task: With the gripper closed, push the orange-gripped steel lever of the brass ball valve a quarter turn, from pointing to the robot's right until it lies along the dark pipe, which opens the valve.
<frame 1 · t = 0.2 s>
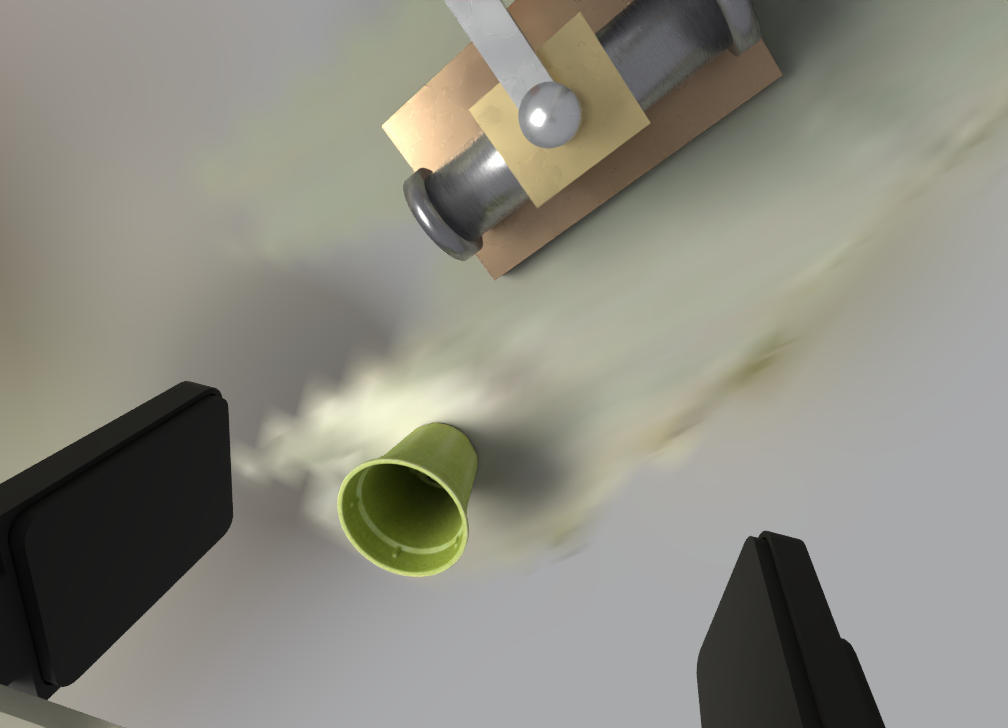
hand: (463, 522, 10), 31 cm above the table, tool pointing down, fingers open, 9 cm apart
plant pot: (441, 453, 47), on the table
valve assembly: (578, 117, 36), on the table
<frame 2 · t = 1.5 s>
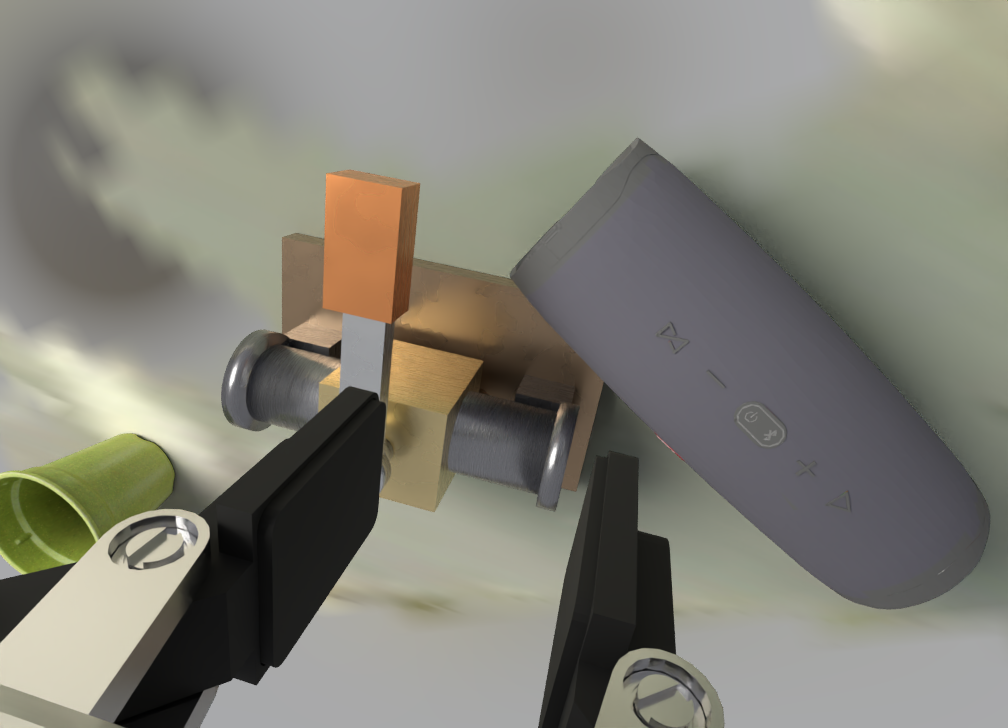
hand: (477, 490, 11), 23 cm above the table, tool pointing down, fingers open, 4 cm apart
plant pot: (144, 464, 46), on the table
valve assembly: (439, 373, 37), on the table
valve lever: (363, 358, 24), point 12 cm above the table, hinge at -90.0°
bluetooth speaker: (724, 342, 33), on the table, touching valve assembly
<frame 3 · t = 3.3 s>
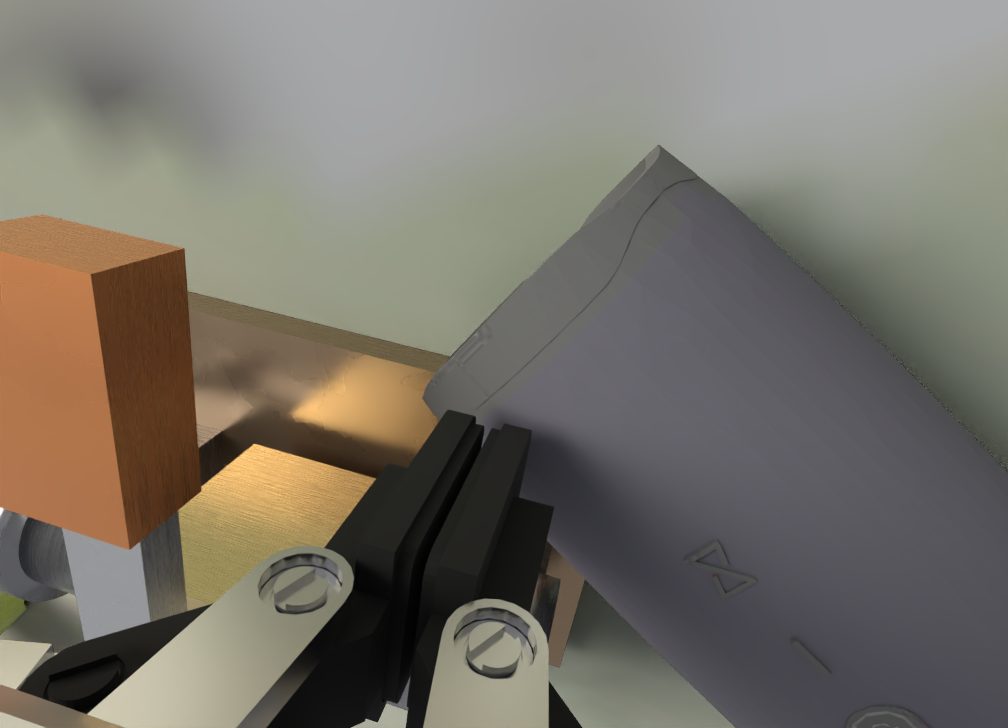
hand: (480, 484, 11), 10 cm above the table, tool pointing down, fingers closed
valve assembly: (360, 486, 25), on the table
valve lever: (117, 581, 12), point 12 cm above the table, hinge at -90.0°
bluetooth speaker: (797, 470, 20), on the table, touching gripper, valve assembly
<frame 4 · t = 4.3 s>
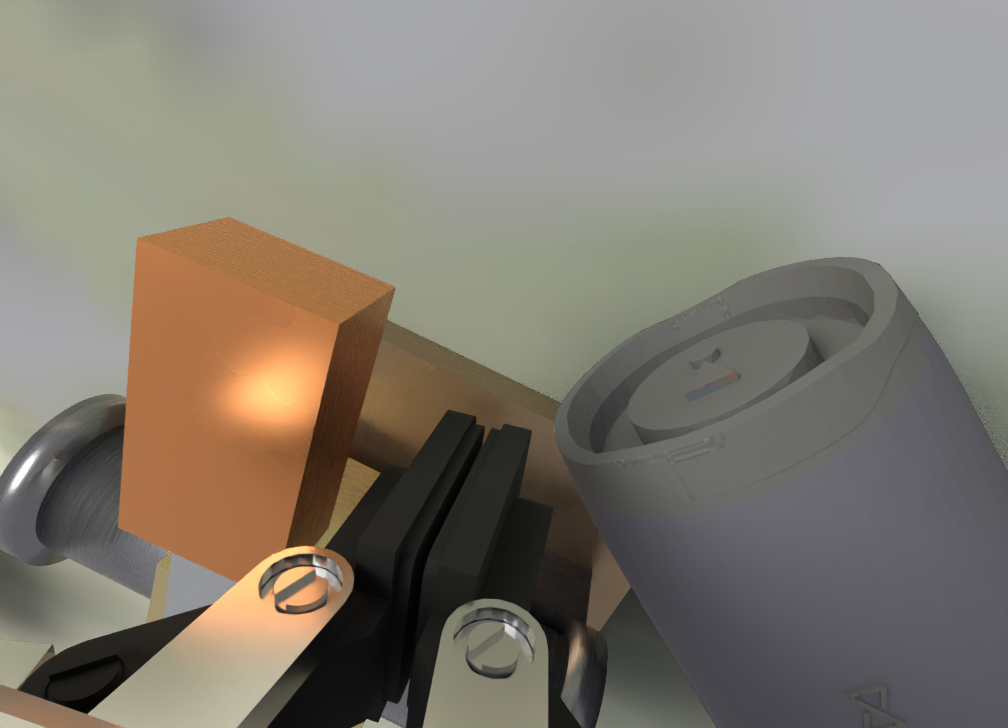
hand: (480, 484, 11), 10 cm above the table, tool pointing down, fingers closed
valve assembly: (388, 488, 24), on the table
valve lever: (216, 609, 11), point 12 cm above the table, hinge at -87.1°, touching gripper
bluetooth speaker: (828, 555, 21), on the table, touching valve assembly
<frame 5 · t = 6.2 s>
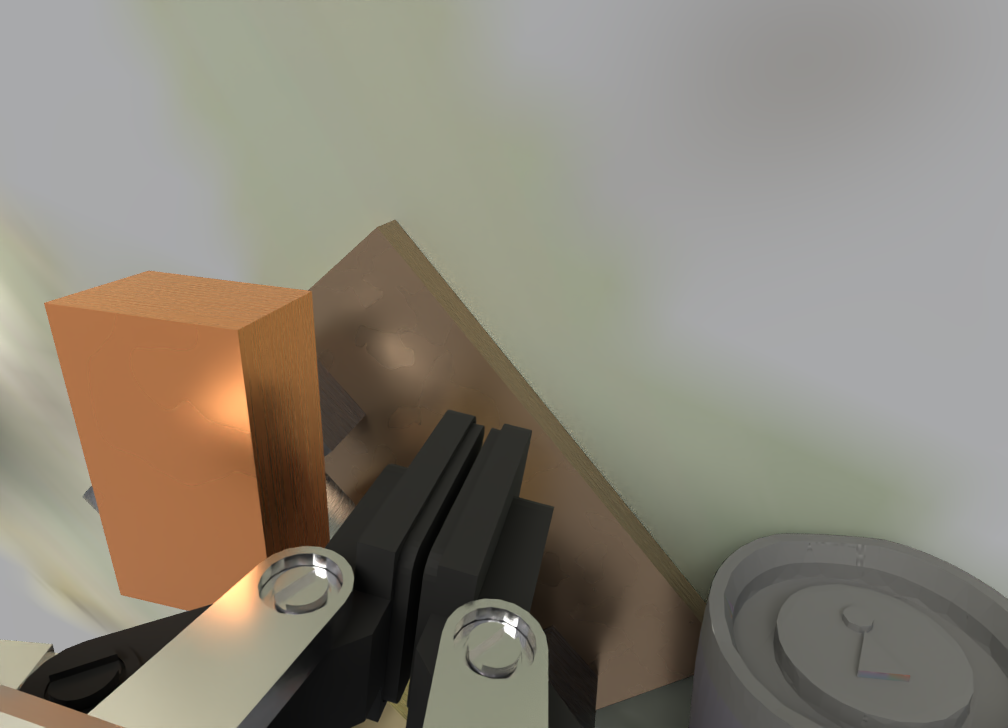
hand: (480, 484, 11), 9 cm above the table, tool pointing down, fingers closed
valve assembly: (438, 521, 24), on the table
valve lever: (246, 661, 11), point 12 cm above the table, hinge at -42.8°, touching gripper
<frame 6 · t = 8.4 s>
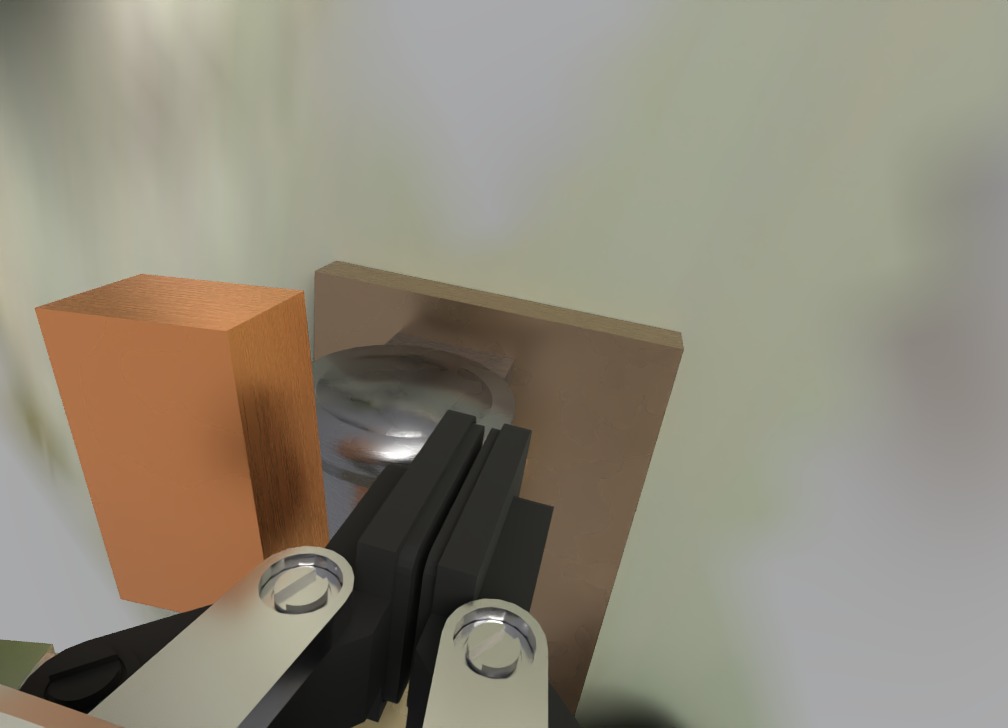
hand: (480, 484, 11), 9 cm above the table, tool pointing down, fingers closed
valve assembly: (443, 521, 24), on the table
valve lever: (248, 664, 11), point 12 cm above the table, hinge at 6.3°, touching gripper
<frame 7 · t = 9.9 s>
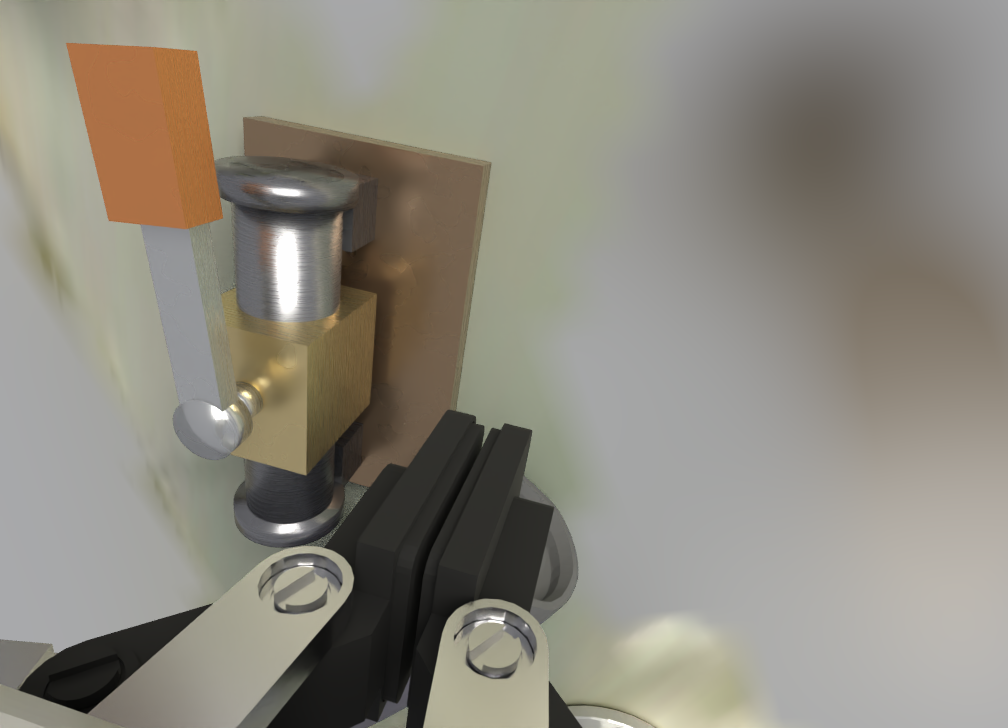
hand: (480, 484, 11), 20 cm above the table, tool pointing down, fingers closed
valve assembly: (346, 320, 33), on the table
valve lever: (180, 282, 20), point 12 cm above the table, hinge at 6.4°
bluetooth speaker: (421, 553, 40), on the table, touching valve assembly
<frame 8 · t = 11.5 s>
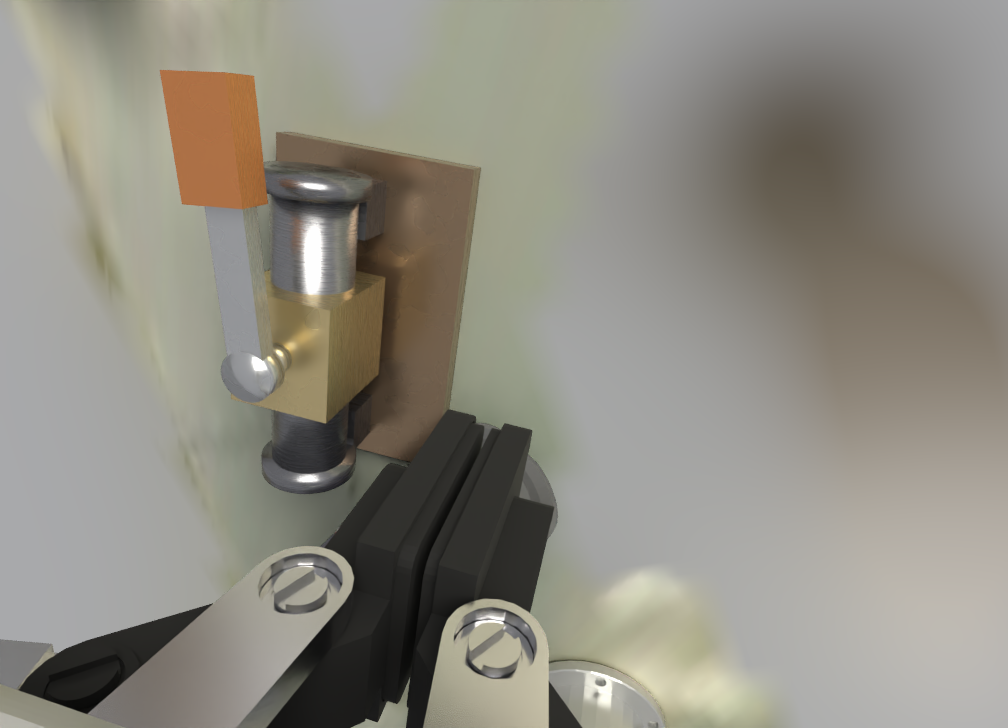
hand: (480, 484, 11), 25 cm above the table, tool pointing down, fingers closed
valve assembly: (358, 305, 39), on the table
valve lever: (232, 254, 26), point 12 cm above the table, hinge at 6.4°
bluetooth speaker: (422, 517, 45), on the table, touching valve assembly
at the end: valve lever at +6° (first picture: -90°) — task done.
